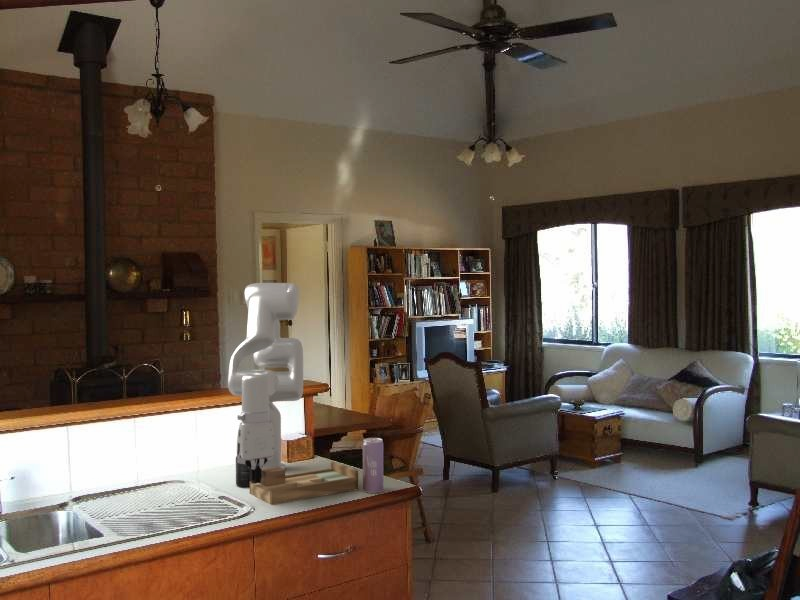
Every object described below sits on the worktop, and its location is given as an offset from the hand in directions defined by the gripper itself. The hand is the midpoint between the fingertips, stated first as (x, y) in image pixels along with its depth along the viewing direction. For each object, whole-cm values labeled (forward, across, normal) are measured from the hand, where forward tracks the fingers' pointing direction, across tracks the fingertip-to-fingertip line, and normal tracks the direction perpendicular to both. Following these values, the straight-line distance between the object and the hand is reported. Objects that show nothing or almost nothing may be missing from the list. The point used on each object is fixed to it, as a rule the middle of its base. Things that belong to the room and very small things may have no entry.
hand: (255, 482), depth 231 cm
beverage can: (+4, +31, -14) cm, 34 cm away
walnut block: (+1, +5, 0) cm, 5 cm away
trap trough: (+4, +14, -3) cm, 14 cm away
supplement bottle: (+4, +3, +13) cm, 14 cm away
